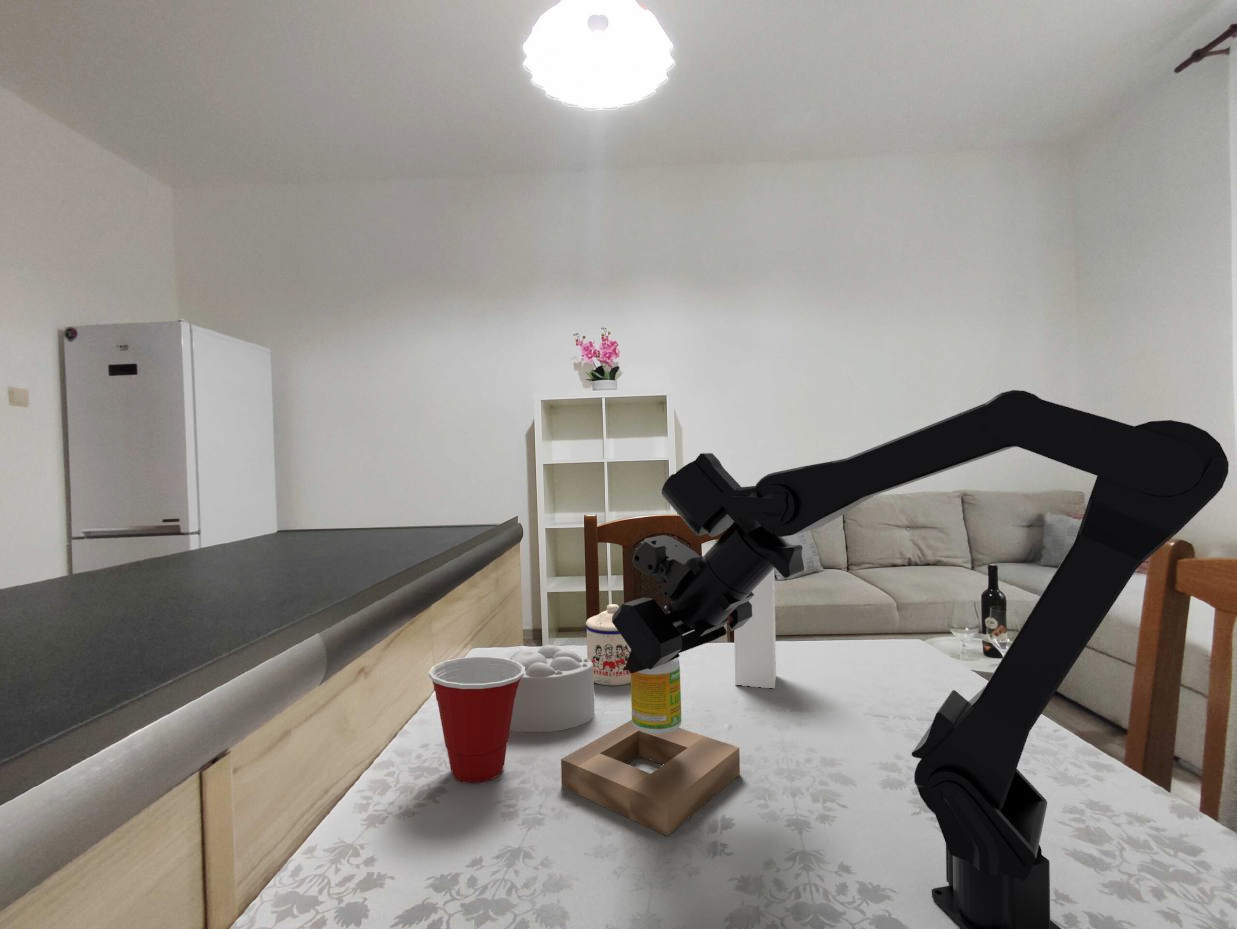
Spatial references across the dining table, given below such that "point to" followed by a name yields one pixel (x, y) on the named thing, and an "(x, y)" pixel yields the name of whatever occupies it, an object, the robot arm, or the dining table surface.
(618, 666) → the teacup with lid
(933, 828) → the dining table surface
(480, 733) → the plastic cup
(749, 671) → the milk
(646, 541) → the robot arm
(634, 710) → the supplement bottle
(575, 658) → the lumpy-topped squat cylinder
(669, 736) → the bottle holder
